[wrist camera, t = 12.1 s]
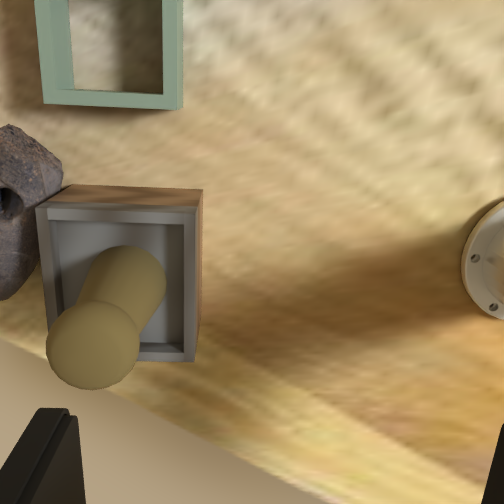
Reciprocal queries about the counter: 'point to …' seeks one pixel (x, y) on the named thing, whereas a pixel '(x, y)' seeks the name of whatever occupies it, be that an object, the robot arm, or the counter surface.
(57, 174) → the perforated stone tool
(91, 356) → the tan rounded piece
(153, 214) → the gray open box
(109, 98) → the shaker holder
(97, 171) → the counter surface
